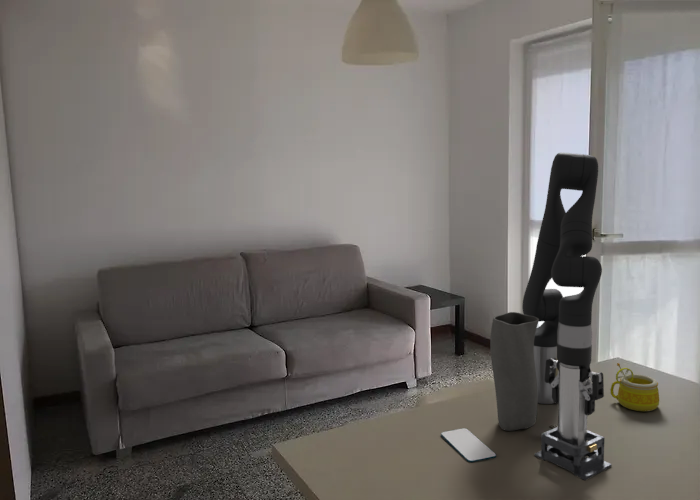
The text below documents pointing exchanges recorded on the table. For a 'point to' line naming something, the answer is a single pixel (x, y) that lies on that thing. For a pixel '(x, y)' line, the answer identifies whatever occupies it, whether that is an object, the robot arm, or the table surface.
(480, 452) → the smartphone
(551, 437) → the collar bracket
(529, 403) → the vase
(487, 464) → the table surface
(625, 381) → the mug
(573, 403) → the silver metal cylinder
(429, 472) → the table surface
